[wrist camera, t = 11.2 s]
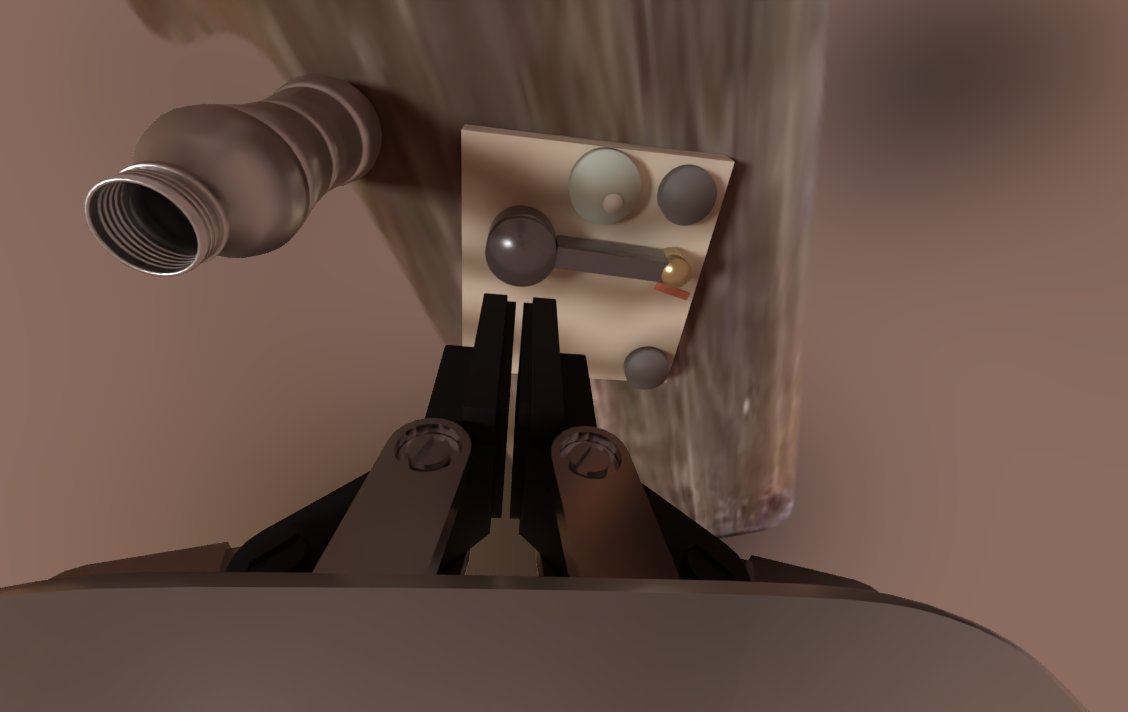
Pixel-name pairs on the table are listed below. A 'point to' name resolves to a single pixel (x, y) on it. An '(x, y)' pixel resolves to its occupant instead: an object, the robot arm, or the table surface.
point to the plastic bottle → (233, 175)
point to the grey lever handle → (571, 253)
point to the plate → (593, 238)
